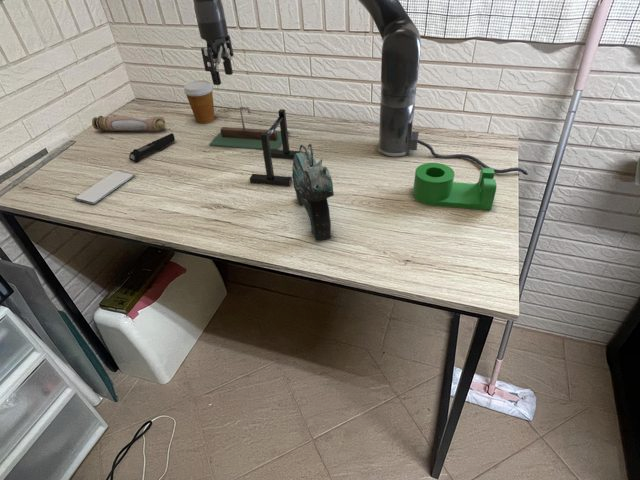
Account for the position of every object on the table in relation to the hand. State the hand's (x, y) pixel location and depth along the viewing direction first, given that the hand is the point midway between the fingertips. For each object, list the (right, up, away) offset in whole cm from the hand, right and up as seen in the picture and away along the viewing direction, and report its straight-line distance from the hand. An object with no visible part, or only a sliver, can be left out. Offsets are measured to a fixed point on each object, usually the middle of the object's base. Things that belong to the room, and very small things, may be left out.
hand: (223, 79), depth 124 cm
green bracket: (+60, -36, -20) cm, 73 cm away
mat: (+6, -15, +10) cm, 19 cm away
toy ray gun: (+26, -42, -24) cm, 55 cm away
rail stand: (+17, -27, -5) cm, 32 cm away
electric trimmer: (-23, -20, +7) cm, 31 cm away
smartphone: (-30, -33, -8) cm, 45 cm away
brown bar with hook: (+6, -15, +9) cm, 18 cm away
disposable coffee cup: (-11, -5, +23) cm, 26 cm away
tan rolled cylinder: (-35, -8, +17) cm, 40 cm away
